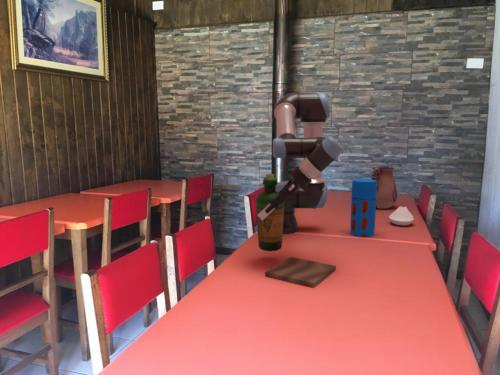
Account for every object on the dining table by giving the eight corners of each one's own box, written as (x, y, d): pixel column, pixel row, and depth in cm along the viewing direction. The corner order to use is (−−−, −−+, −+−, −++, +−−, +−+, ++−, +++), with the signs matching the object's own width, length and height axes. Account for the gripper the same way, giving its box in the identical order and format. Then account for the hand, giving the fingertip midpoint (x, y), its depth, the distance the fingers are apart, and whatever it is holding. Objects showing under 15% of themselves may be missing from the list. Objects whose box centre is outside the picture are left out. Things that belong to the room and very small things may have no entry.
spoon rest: (413, 228, 192) (414, 214, 191) (387, 226, 197) (388, 212, 196) (413, 218, 214) (414, 205, 213) (390, 216, 218) (391, 203, 217)
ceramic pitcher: (399, 206, 242) (401, 165, 238) (391, 213, 225) (393, 169, 221) (370, 203, 252) (372, 164, 248) (360, 209, 234) (362, 167, 230)
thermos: (375, 237, 177) (378, 182, 173) (351, 236, 179) (353, 181, 175) (372, 231, 188) (375, 179, 184) (349, 230, 190) (351, 178, 186)
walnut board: (265, 275, 134) (265, 271, 133) (290, 260, 148) (290, 256, 148) (314, 287, 124) (314, 283, 124) (335, 269, 139) (335, 265, 138)
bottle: (264, 254, 142) (264, 177, 137) (251, 246, 151) (250, 173, 146) (289, 249, 146) (290, 175, 142) (275, 242, 156) (274, 171, 151)
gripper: (311, 185, 130) (264, 229, 136) (313, 175, 153) (273, 213, 158) (295, 169, 130) (249, 214, 136) (300, 162, 153) (260, 200, 158)
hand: (262, 214), depth 147 cm, fingers closed on bottle, 10 cm apart
